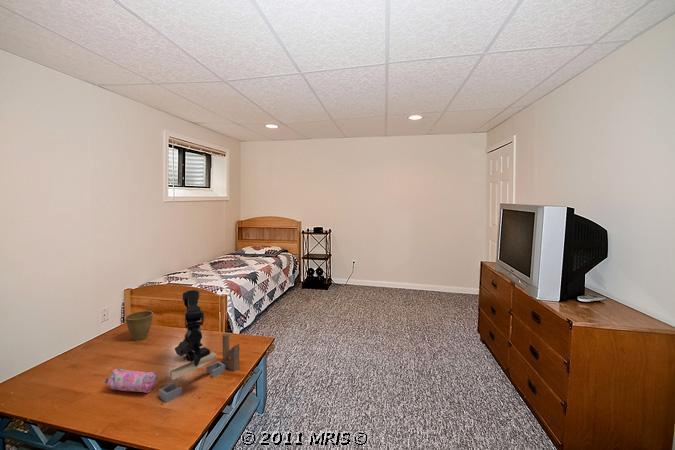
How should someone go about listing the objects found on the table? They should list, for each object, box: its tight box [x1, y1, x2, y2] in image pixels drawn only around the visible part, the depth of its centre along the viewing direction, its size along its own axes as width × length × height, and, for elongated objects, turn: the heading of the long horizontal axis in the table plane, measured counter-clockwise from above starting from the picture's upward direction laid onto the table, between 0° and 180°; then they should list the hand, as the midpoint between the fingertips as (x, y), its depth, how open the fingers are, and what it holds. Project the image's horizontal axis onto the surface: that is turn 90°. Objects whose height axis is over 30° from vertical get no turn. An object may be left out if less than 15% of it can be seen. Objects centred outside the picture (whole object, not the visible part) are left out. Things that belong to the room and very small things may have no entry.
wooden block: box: [220, 332, 240, 372], centre depth 156 cm, size 4×11×18 cm, turn 60°
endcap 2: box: [205, 360, 226, 378], centre depth 151 cm, size 6×7×4 cm
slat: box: [169, 351, 217, 380], centre depth 141 cm, size 3×22×3 cm, turn 146°
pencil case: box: [104, 368, 159, 394], centre depth 136 cm, size 21×9×9 cm, turn 81°
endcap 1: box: [158, 381, 183, 403], centre depth 132 cm, size 6×7×4 cm
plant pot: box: [125, 310, 154, 342], centre depth 188 cm, size 15×15×16 cm
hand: (194, 365), depth 141 cm, fingers closed on slat, 3 cm apart
